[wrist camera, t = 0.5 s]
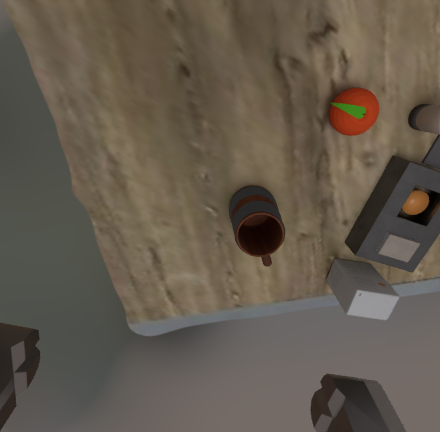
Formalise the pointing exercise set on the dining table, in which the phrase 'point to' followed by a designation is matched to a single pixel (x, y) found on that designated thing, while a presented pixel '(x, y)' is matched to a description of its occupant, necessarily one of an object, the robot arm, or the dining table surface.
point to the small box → (361, 289)
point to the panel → (397, 218)
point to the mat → (433, 154)
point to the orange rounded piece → (416, 202)
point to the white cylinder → (425, 118)
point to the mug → (256, 223)
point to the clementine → (354, 111)
